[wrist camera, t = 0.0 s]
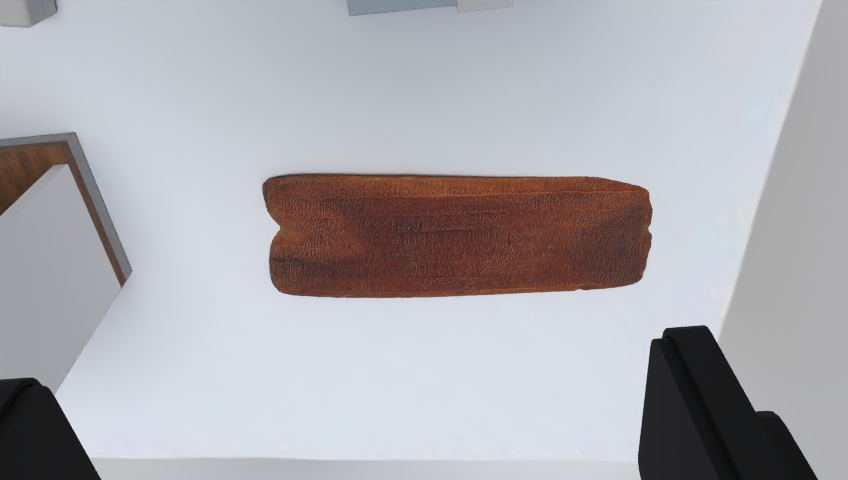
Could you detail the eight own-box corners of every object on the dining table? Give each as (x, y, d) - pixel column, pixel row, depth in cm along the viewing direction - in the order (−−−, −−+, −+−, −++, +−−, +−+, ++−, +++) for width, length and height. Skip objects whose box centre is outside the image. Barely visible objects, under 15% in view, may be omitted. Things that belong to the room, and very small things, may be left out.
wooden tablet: (275, 290, 49) (271, 304, 48) (259, 167, 44) (254, 179, 42) (636, 293, 49) (643, 307, 48) (665, 172, 44) (673, 184, 42)
